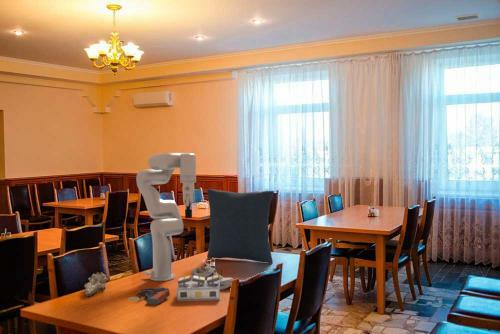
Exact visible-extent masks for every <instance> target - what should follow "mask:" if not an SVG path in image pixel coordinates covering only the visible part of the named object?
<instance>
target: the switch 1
mask: <svg viewBox="0 0 500 334" xmlns="http://www.w3.org/2000/svg"><path fill="white" fill-rule="evenodd" d="M191 277H192V275H186V276H183V277H179V278H178V280H177V285H178V284H181V283H185V282H189V281H191Z"/></svg>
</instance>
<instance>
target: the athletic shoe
mask: <svg viewBox="0 0 500 334" xmlns="http://www.w3.org/2000/svg"><path fill="white" fill-rule="evenodd" d="M194 275H195V276H199V277H205V280H207V278H208V277H211V276H212V277H213V276H215V275H219V280H220V291H223V290H226V289H228V288H230V287H231V283H232V281H233V280H234V281H235V279H234V278H233V277H223V276H222V275H221V274H219V273H218V272H217V271H216V268H215V267H212V265H211V264H207V265H206V266H205V267H203V270H202V269H201V268H200V267H196V268H193V269H192V271H191V281H192V280H193V276H194Z"/></svg>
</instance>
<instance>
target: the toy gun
mask: <svg viewBox="0 0 500 334" xmlns="http://www.w3.org/2000/svg"><path fill="white" fill-rule="evenodd" d="M170 295H171V294H170V289H169V288H167V287H164V286H161V287H160V286H157V287H152V288H151V287H150V288H142V289H141V290H140V292H138V294H135V296H129V297H128V299H127V301H132V302H138V301H143V298H142V297H144V301H146V303H147V304H148V305H154V306H156V305H159V304H161V303H162V302H164V301H165V299H166V298H168V297H169V296H170Z"/></svg>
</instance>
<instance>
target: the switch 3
mask: <svg viewBox="0 0 500 334" xmlns="http://www.w3.org/2000/svg"><path fill="white" fill-rule="evenodd" d="M219 275H220V274H219ZM219 275H215V276H213V277H212V276H211V277H208V278H207V284H208V283H211V282H215V281H218V280H219Z"/></svg>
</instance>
